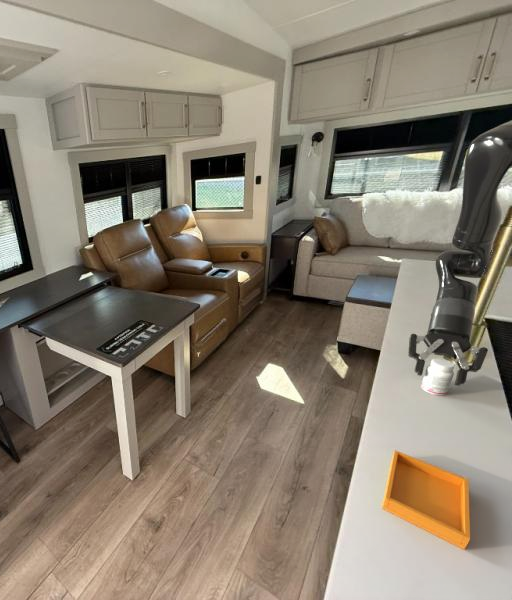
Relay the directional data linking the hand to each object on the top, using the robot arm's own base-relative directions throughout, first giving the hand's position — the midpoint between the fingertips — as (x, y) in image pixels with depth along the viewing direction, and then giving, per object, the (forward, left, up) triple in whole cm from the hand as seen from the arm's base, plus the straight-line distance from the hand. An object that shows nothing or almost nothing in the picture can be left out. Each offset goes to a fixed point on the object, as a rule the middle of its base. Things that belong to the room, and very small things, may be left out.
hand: (438, 379), depth 79 cm
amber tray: (0, +36, -4) cm, 37 cm away
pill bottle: (0, -2, -5) cm, 5 cm away
